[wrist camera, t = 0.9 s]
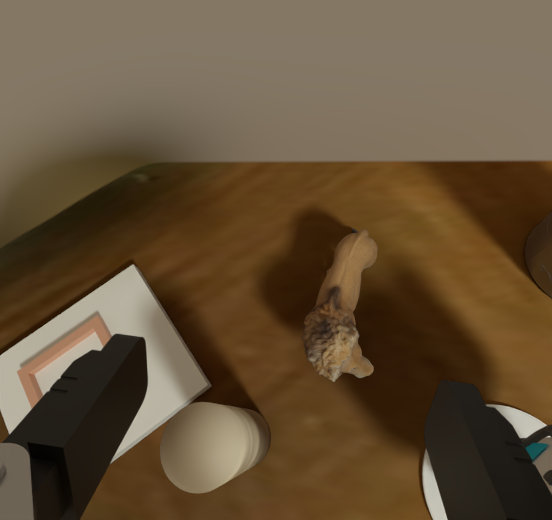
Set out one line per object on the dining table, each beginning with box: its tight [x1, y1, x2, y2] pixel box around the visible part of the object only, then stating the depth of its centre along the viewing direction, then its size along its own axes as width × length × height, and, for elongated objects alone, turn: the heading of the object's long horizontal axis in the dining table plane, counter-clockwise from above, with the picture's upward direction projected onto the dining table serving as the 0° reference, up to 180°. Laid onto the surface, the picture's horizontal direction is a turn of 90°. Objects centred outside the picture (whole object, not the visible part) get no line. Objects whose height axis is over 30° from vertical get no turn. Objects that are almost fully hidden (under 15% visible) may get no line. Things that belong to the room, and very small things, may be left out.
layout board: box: [0, 264, 212, 463], centre depth 34 cm, size 16×14×2 cm
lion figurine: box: [302, 229, 378, 382], centre depth 31 cm, size 15×5×9 cm, turn 169°
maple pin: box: [160, 402, 271, 493], centre depth 26 cm, size 4×4×12 cm
